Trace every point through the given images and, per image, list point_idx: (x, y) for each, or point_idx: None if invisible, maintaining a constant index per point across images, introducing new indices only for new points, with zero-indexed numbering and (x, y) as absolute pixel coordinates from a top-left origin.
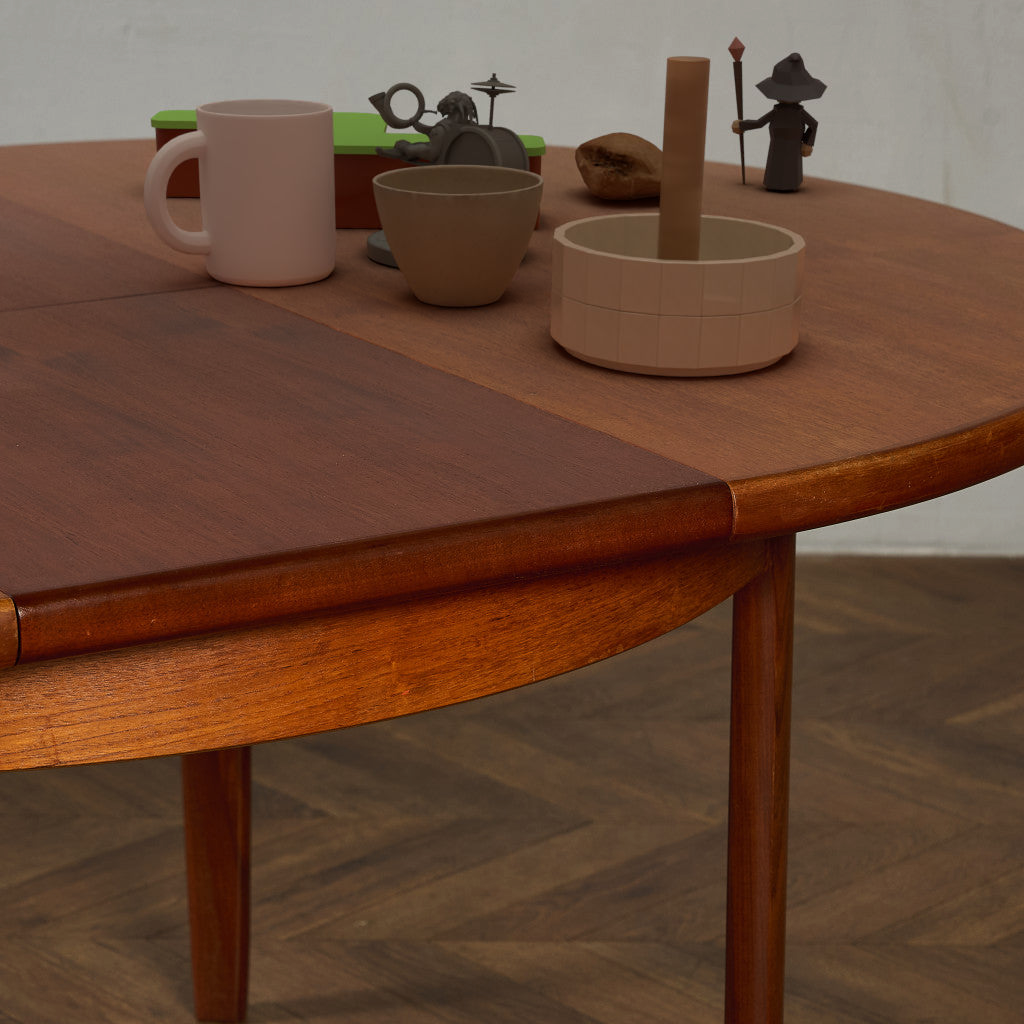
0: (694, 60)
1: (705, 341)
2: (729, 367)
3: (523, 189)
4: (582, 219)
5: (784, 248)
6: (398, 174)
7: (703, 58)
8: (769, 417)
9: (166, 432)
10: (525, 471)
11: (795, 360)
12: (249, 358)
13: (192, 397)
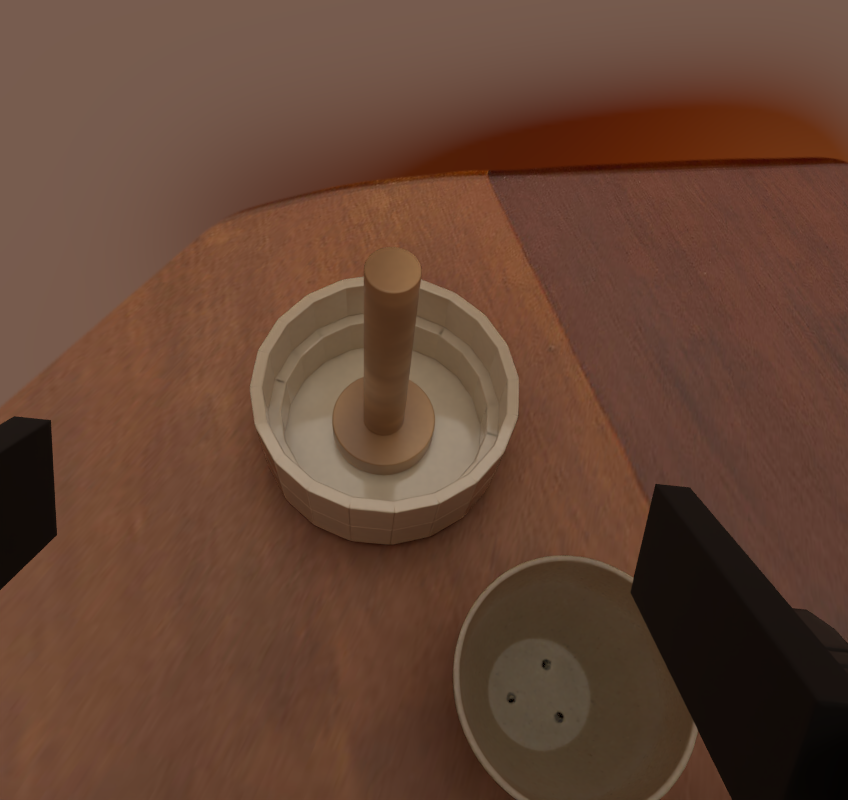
0: (397, 248)
1: None
2: None
3: (509, 571)
4: (455, 490)
5: (268, 374)
6: (651, 793)
7: (373, 264)
8: None
9: (822, 344)
10: (598, 219)
11: None
12: (775, 508)
13: (813, 413)
